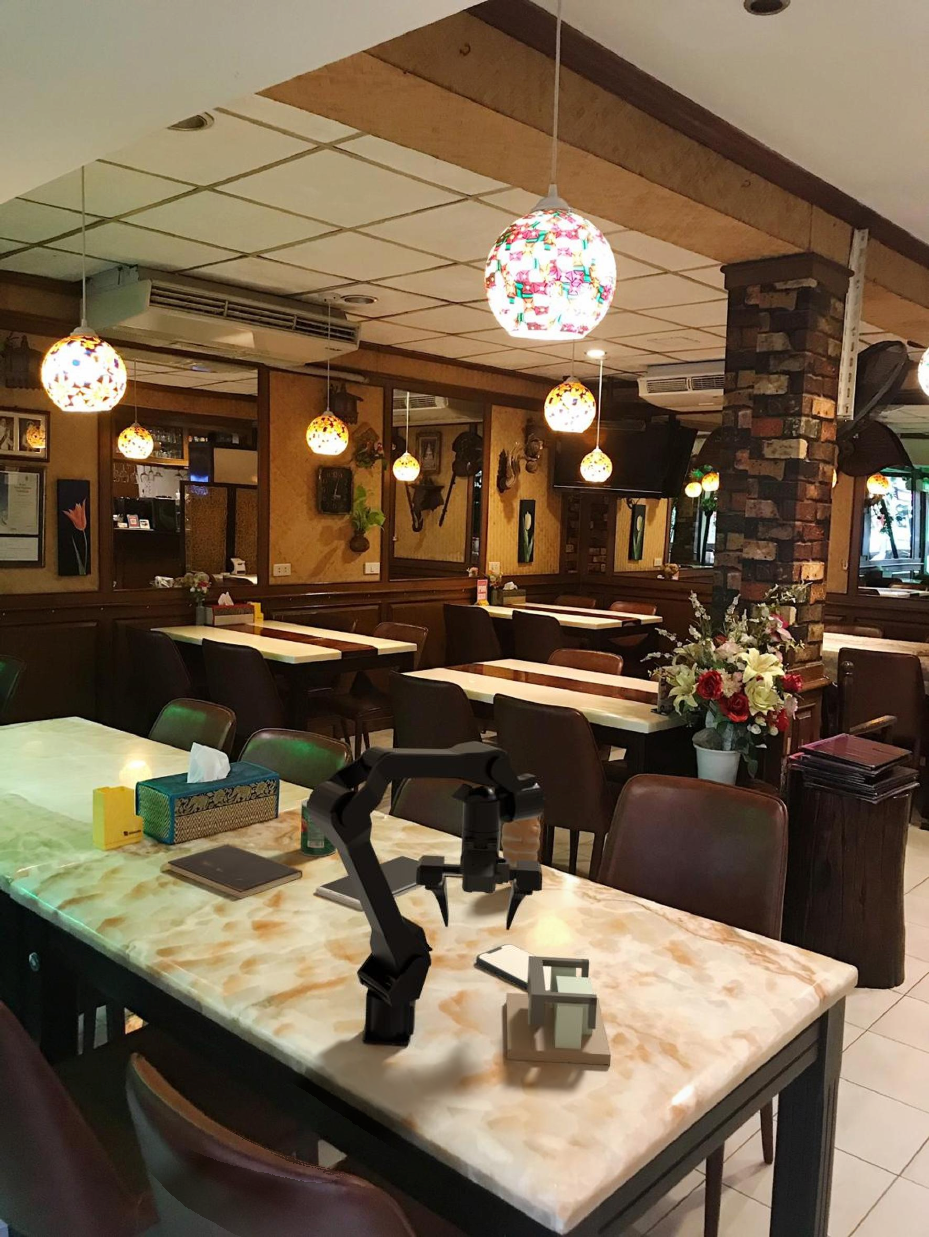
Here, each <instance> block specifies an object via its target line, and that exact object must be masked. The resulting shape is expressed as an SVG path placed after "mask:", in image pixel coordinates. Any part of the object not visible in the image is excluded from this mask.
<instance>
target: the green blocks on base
mask: <svg viewBox="0 0 929 1237" xmlns="http://www.w3.org/2000/svg"><path fill="white" fill-rule="evenodd" d="M550 992H561V993H579V994H595V993H594V989H593V984H592V979H591V977H588V978H586V977H581V976H577V968H567V967H551V979H550ZM505 998H506V1001H505V1003H506V1005H505V1006H506V1007H505V1008H506V1010H505V1012H506V1045H507V1046H506V1047H507V1048H506V1051H507V1052H506V1054H507V1060H510V1059H511V1061H513V1060H514V1061H515V1060H516V1061H527V1062H528V1061H530V1062H544V1063H545V1062H546V1063H547V1062H548V1063H562V1062H564V1063H566V1064H569V1063H568V1062H571V1063H570V1064H580V1063H588V1064H587V1065H597V1064H608V1065H607V1066H611V1055H612V1053H611V1049H610V1045H609V1041H608V1035H607V1031H606V1027H605V1023H604V1017H603V1013H602V1008H601V1004H600V1001H599V1000H600V999H599V998H598V997H597V1009H596V1027H595V1029H588V1026H587V1023H588V1005H589V1004H572V1003H553V1002H546V1008H545V1026H530V1017H529V1003H530V1000H529V998H528V993H517V992H513V993H512V992H506V997H505ZM564 1063H563V1064H564Z"/></svg>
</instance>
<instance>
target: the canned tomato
mask: <svg viewBox="0 0 929 1237" xmlns="http://www.w3.org/2000/svg"><path fill="white" fill-rule="evenodd" d="M308 800H309V798H307V799H304V800H302V801H301V804H300V805H301V810H300V811H301V814H300V815H301V816H300V819H301V820H300V849H299V851H300V852H299V853H301V855H304V856H307V857H312V856H313V858H315V857H317V856H319V857H317V858H320V857H321V856H323V857H328V856H327V855H329V856H332V855H333V853H334V854H335V853H336V852H337V849H336V848H335V846H334V845H333V844H332V843H331V842H330V841H329V840H328V839H327V838H326V837H325V835H324V834H323V833H322V832H321V831H320V830H319V828H318V827H317V825H316V824H315V823H314V821H313V820H312V818H311V817H310V815H309V814H308V810H307V801H308ZM331 854H332V855H331ZM314 856H315V857H314Z"/></svg>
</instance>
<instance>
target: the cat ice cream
mask: <svg viewBox="0 0 929 1237" xmlns="http://www.w3.org/2000/svg"><path fill="white" fill-rule="evenodd" d="M538 817H539V816H538ZM538 817H535V818H530V819H525V820H520V821H515V822H510V823H506V822H504V823H503V824H502V830H501V834H502V836H501V837H500V844H501V847H502V858H509V859H510V867H515V863H516V860H529V861H538V851H539V850H540V845H541V844H540V843H541V841H540V839H539V838H540V835H541V824H540V822H539V821H538ZM508 884H510V886H512V880H509V882H508Z"/></svg>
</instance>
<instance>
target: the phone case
mask: <svg viewBox="0 0 929 1237" xmlns="http://www.w3.org/2000/svg"><path fill="white" fill-rule="evenodd" d="M529 956H536V955H535V954H532V953H530V952H528V951H527V950H525V949H522V948H521V947H518V946H516V945H514V944H511V943H505V944H502V945H499V946H497V947H495V948H493V949H490V950H487V951H485V952H482V953H480V954H478V955H477V956H476V960H475V963H476V964H475V965H477V966H478V967H480V968H482V969H483V970H486V971H488V972H490V973H492V974H494V975H496V976H498V977H500V978H502V979H504V980H506V981H507V982H510V983H512V984H514V985H515V986H518V987H519V988H521V989H524V990H526V991H528V988H527V980H528V959H529ZM543 971H544V980H545V989H546V992H550V979H551V967H549V966H543Z"/></svg>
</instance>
